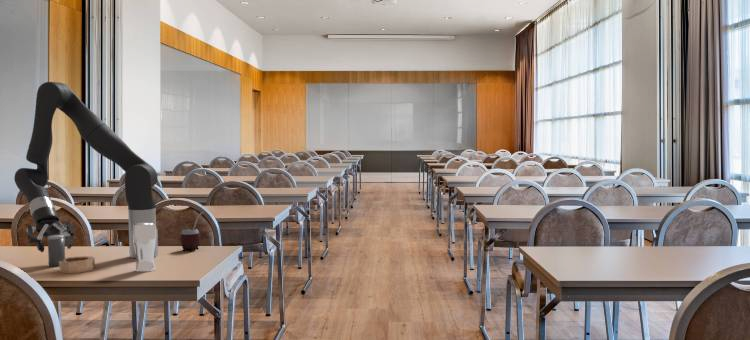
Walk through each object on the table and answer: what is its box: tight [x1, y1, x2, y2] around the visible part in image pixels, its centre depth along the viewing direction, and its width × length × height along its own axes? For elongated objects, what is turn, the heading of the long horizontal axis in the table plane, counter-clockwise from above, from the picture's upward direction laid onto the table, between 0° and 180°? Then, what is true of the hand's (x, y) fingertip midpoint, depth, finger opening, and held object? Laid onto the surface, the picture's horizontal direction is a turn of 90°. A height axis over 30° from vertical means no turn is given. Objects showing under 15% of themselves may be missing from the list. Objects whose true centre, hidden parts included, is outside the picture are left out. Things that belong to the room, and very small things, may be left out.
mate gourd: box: [180, 210, 205, 252], centre depth 234 cm, size 8×8×15 cm
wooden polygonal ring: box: [58, 255, 96, 274], centre depth 200 cm, size 10×10×4 cm
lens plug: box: [47, 235, 66, 268], centre depth 208 cm, size 5×5×10 cm
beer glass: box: [133, 222, 157, 273], centre depth 198 cm, size 7×7×15 cm
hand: (56, 248), depth 208 cm, fingers open, 8 cm apart
